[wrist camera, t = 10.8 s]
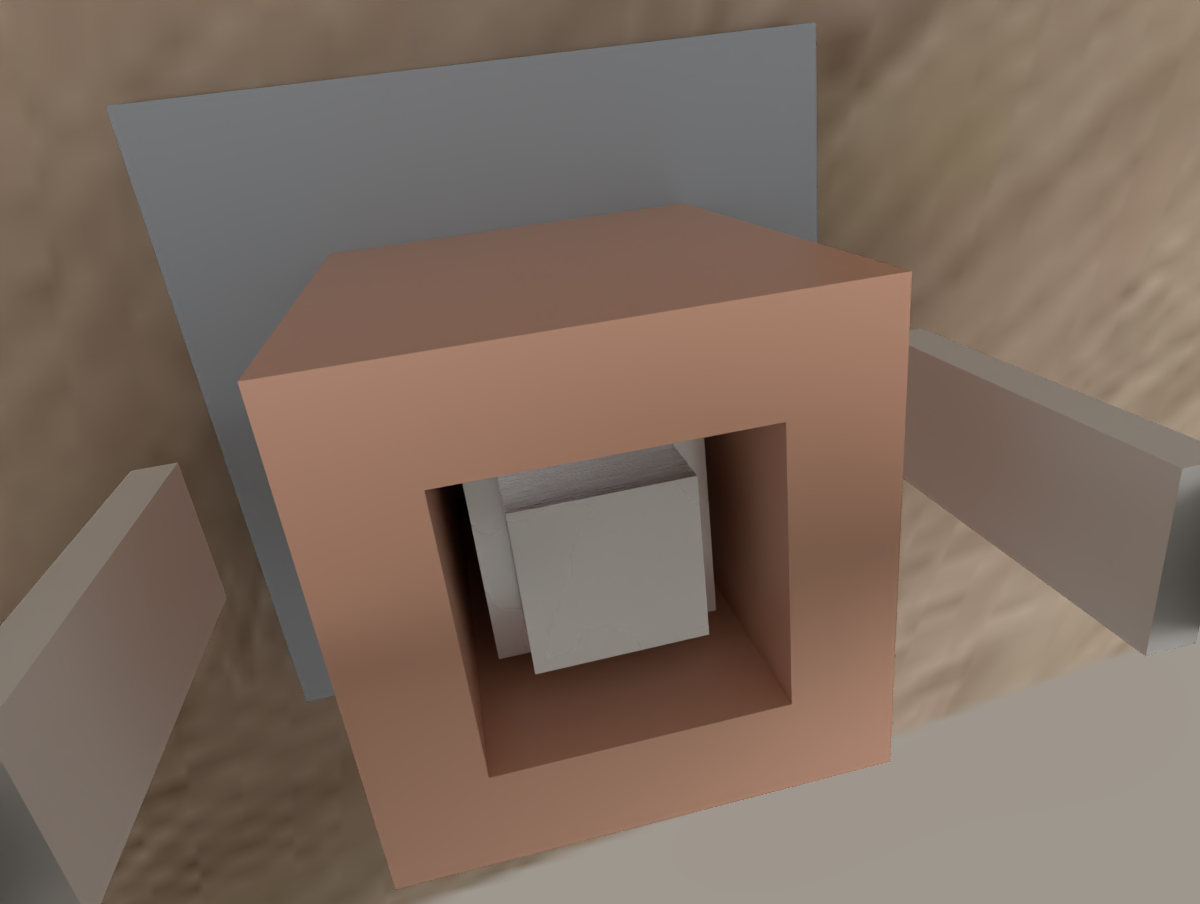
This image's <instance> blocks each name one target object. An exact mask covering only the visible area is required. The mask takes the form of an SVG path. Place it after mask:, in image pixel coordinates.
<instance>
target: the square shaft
mask: <svg viewBox="0 0 1200 904" xmlns="http://www.w3.org/2000/svg"><path fill="white" fill-rule="evenodd" d="M463 488H464V493H465V498H466V503H467V508H468V512H469V517H470V522H471V527H472V532H473V536H474V541H475V546H476V551H477V556H478V561H479V565H480V570H481V575H482V580H483V585H484V589H485V594H486V599H487V604H488V609H489V614H490V618H491V623H492V628H493V633H494V638H495V642H496V647H497V652H498V657H499V659H503V658H507V657H511V656H516V655H520V654H525V653H529V652H531V656H532V661H533V666H534V670H535V674H539V673H544V672H548V671H553V670H557V669H561V668H566V667H570V666H574V665H579V664H583V663H587V662H592V661H596V660H600V659H605V658H609V657H613V656H618V655H622V654H626V653H631V652H635V651H639V650H644V649H648V648H652V647H657V646H661V645H665V644H670V643H674V642H678V641H683V640H687V639H691V638H696V637H700V636H705V635H709V625H708V612H711V611H715V610H716V601H715V587H714V573H713V558H712V544H711V530H710V515H709V501H708V487H707V472H706V458H705V444H704V438H699V439H694V440H688V441H683V442H678V443H672V444H667V445H662V446H657V447H651V448H646V449H641V450H635V451H630V452H625V453H619V454H614V455H609V456H604V457H598V458H593V459H588V460H582V461H577V462H572V463H567V464H561V465H556V466H551V467H545V468H540V469H535V470H530V471H524V472H519V473H514V474H508V475H503V476H498V477H492V478H487V479H482V480H477V481H471V482H466V483H463Z"/></svg>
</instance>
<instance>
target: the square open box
mask: <svg viewBox="0 0 1200 904" xmlns="http://www.w3.org/2000/svg"><path fill="white" fill-rule="evenodd" d="M911 284H912V271H910V270H907V269H903V268H900V267H896V266H893V265H890V264H886V263H883V262H880V261H876V260H873V259H869V258H866V257H863V256H859V255H856V254H853V253H849V252H846V251H843V250H839V249H836V248H832V247H829V246H826V245H822V244H819V243H816V242H812V241H809V240H805V239H802V238H799V237H795V236H792V235H789V234H785V233H782V232H779V231H775V230H772V229H768V228H765V227H762V226H758V225H755V224H752V223H748V222H745V221H742V220H738V219H735V218H731V217H728V216H725V215H721V214H718V213H715V212H711V211H708V210H704V209H701V208H698V207H694V206H691V205H688V204H684V203H680V204H673V205H666V206H659V207H652V208H645V209H638V210H631V211H624V212H617V213H610V214H603V215H596V216H589V217H582V218H575V219H569V220H562V221H555V222H548V223H541V224H534V225H527V226H520V227H513V228H506V229H499V230H492V231H485V232H478V233H471V234H464V235H457V236H450V237H443V238H437V239H430V240H423V241H416V242H409V243H402V244H395V245H388V246H381V247H374V248H367V249H360V250H353V251H346V252H339V253H332V254H329V255H328V256H327V258H326V259H325V260H324V262H323V263H322V264H321V266H320V267H319V269H318V270H317V271H316V273H315V274H314V276H313V277H312V278H311V280H310V281H309V283H308V284H307V285H306V287H305V288H304V290H303V291H302V292H301V294H300V295H299V297H298V298H297V299H296V301H295V302H294V304H293V305H292V306H291V308H290V309H289V311H288V312H287V313H286V315H285V316H284V317H283V319H282V320H281V322H280V323H279V324H278V326H277V327H276V329H275V330H274V331H273V333H272V334H271V336H270V337H269V338H268V340H267V341H266V343H265V344H264V345H263V347H262V348H261V350H260V351H259V352H258V354H257V355H256V357H255V358H254V359H253V361H252V362H251V364H250V365H249V366H248V368H247V369H246V371H245V372H244V373H243V375H242V376H241V377H240V379H239V380H238V385H239V388H240V392H241V395H242V398H243V401H244V404H245V408H246V411H247V414H248V417H249V420H250V424H251V427H252V430H253V433H254V437H255V440H256V443H257V446H258V449H259V453H260V456H261V459H262V462H263V465H264V469H265V472H266V475H267V478H268V482H269V485H270V488H271V491H272V494H273V498H274V501H275V504H276V507H277V510H278V514H279V517H280V520H281V523H282V526H283V530H284V533H285V536H286V539H287V543H288V546H289V549H290V552H291V555H292V559H293V562H294V565H295V568H296V571H297V575H298V578H299V581H300V584H301V588H302V591H303V594H304V597H305V600H306V604H307V607H308V610H309V613H310V616H311V620H312V623H313V626H314V629H315V633H316V636H317V639H318V642H319V645H320V649H321V652H322V655H323V658H324V661H325V665H326V668H327V671H328V674H329V677H330V681H331V684H332V687H333V690H334V694H335V697H336V700H337V703H338V706H339V710H340V713H341V716H342V719H343V722H344V726H345V729H346V732H347V735H348V739H349V742H350V745H351V748H352V751H353V755H354V758H355V761H356V764H357V767H358V771H359V774H360V777H361V780H362V783H363V787H364V790H365V793H366V796H367V800H368V803H369V806H370V809H371V812H372V816H373V819H374V822H375V825H376V828H377V832H378V835H379V838H380V841H381V845H382V848H383V851H384V854H385V857H386V861H387V864H388V867H389V870H390V873H391V877H392V880H393V883H394V886H395V890H397V889H401V888H405V887H409V886H412V885H416V884H420V883H424V882H428V881H432V880H436V879H439V878H443V877H447V876H451V875H455V874H459V873H463V872H466V871H470V870H474V869H478V868H482V867H486V866H490V865H493V864H497V863H501V862H505V861H509V860H513V859H517V858H520V857H524V856H528V855H532V854H536V853H540V852H543V851H547V850H551V849H555V848H559V847H563V846H567V845H570V844H574V843H578V842H582V841H586V840H590V839H594V838H597V837H601V836H605V835H609V834H613V833H617V832H621V831H624V830H628V829H632V828H636V827H640V826H644V825H648V824H651V823H655V822H659V821H663V820H667V819H671V818H674V817H678V816H682V815H686V814H690V813H694V812H698V811H701V810H705V809H709V808H713V807H717V806H721V805H724V804H728V803H732V802H736V801H740V800H744V799H747V798H752V797H755V796H759V795H763V794H767V793H771V792H774V791H778V790H782V789H786V788H790V787H794V786H798V785H802V784H805V783H809V782H813V781H817V780H821V779H824V778H829V777H832V776H836V775H840V774H844V773H848V772H852V771H856V770H859V769H863V768H867V767H871V766H875V765H879V764H883V763H886V762H890V755H891V733H892V711H893V688H894V666H895V643H896V621H897V598H898V576H899V554H900V531H901V509H902V486H903V464H904V441H905V419H906V396H907V374H908V352H909V329H910V307H911ZM699 438H704V444H705V458H706V472H707V487H708V501H709V515H710V530H711V544H712V558H713V573H714V587H715V601H716V610H715V611H711V612H708V625H709V635H705V636H700V637H696V638H691V639H687V640H683V641H678V642H674V643H670V644H665V645H661V646H657V647H652V648H648V649H644V650H639V651H635V652H631V653H626V654H622V655H618V656H613V657H609V658H605V659H600V660H596V661H592V662H587V663H583V664H579V665H574V666H570V667H566V668H561V669H557V670H553V671H548V672H544V673H539V674H535V670H534V666H533V661H532V656H531V652H529V653H525V654H520V655H516V656H511V657H507V658H503V659H499V657H498V652H497V647H496V642H495V638H494V633H493V628H492V623H491V618H490V614H489V609H488V604H487V599H486V594H485V589H484V585H483V580H482V575H481V570H480V565H479V561H478V556H477V551H476V546H475V541H474V536H473V532H472V527H471V522H470V517H469V512H468V508H467V503H466V498H465V497H461V498H460V496H459V491H458V486H457V484H461V483H466V482H471V481H477V480H482V479H487V478H492V477H498V476H503V475H508V474H514V473H519V472H524V471H530V470H535V469H540V468H545V467H551V466H556V465H561V464H567V463H572V462H577V461H582V460H588V459H593V458H598V457H604V456H609V455H614V454H619V453H625V452H630V451H635V450H641V449H646V448H651V447H657V446H662V445H667V444H672V443H678V442H683V441H688V440H694V439H699Z"/></svg>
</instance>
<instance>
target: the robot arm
mask: <svg viewBox="0 0 1200 904" xmlns="http://www.w3.org/2000/svg"><path fill="white" fill-rule="evenodd" d="M903 479H905V480H906V481H907V482H909V483H910V484H911V485H913V486H914V487H915V488H917V489H918V490H920V491H921V492H922V493H924V494H925V495H926V496H928V497H929V498H931V499H932V500H933V501H935V502H936V503H937V504H939V505H940V506H941V507H943V508H944V509H946V510H947V511H948V512H950V513H951V514H952V515H954V516H955V517H956V518H958V519H959V520H961V521H962V522H963V523H965V524H966V525H967V526H969V527H970V528H971V529H973V530H974V531H976V532H977V533H978V534H980V535H981V536H982V537H984V538H985V539H986V540H988V541H989V542H991V543H992V544H993V545H995V546H996V547H997V548H999V549H1000V550H1001V551H1003V552H1004V553H1006V554H1007V555H1008V556H1010V557H1011V558H1012V559H1014V560H1015V561H1016V562H1018V563H1019V564H1021V565H1022V566H1023V567H1025V568H1026V569H1027V570H1029V571H1030V572H1032V573H1033V574H1034V575H1036V576H1037V577H1038V578H1040V579H1041V580H1042V581H1044V582H1045V583H1047V584H1048V585H1049V586H1051V587H1052V588H1053V589H1055V590H1056V591H1057V592H1059V593H1060V594H1062V595H1063V596H1064V597H1066V598H1067V599H1068V600H1070V601H1071V602H1072V603H1074V604H1075V605H1077V606H1078V607H1079V608H1081V609H1082V610H1083V611H1085V612H1086V613H1087V614H1089V615H1090V616H1092V617H1093V618H1094V619H1096V620H1097V621H1098V622H1100V623H1101V624H1102V625H1104V626H1105V627H1107V628H1108V629H1109V630H1111V631H1112V632H1113V633H1115V634H1116V635H1118V636H1119V637H1120V638H1122V639H1123V640H1124V641H1126V642H1127V643H1128V644H1130V645H1131V646H1133V647H1134V648H1135V649H1137V650H1138V651H1139V652H1141V653H1142V654H1143V655H1145V656H1148V655H1152V654H1156V653H1160V652H1163V651H1168V650H1171V649H1176V648H1179V647H1183V646H1187V645H1191V644H1195V643H1196V640H1197V636H1198V631H1199V627H1200V441H1199V440H1196V439H1194V438H1191V437H1189V436H1186V435H1184V434H1181V433H1179V432H1176V431H1174V430H1171V429H1169V428H1167V427H1164V426H1162V425H1159V424H1157V423H1154V422H1152V421H1149V420H1147V419H1144V418H1142V417H1139V416H1137V415H1134V414H1132V413H1130V412H1127V411H1125V410H1122V409H1120V408H1117V407H1115V406H1112V405H1110V404H1107V403H1105V402H1102V401H1100V400H1097V399H1095V398H1093V397H1090V396H1088V395H1085V394H1083V393H1080V392H1078V391H1075V390H1073V389H1070V388H1068V387H1065V386H1063V385H1060V384H1058V383H1056V382H1053V381H1051V380H1048V379H1046V378H1043V377H1041V376H1038V375H1036V374H1033V373H1031V372H1028V371H1026V370H1023V369H1021V368H1018V367H1016V366H1014V365H1011V364H1009V363H1006V362H1004V361H1001V360H999V359H996V358H994V357H991V356H989V355H986V354H984V353H981V352H979V351H977V350H974V349H972V348H969V347H967V346H964V345H962V344H959V343H957V342H954V341H952V340H949V339H947V338H944V337H942V336H940V335H937V334H935V333H932V332H930V331H927V330H925V329H922V328H921V329H916V330H910V331H909V352H908V374H907V396H906V419H905V441H904V464H903ZM226 599H227V596H226V593H225V591H224V588H223V585H222V582H221V580H220V577H219V574H218V571H217V569H216V566H215V563H214V560H213V558H212V555H211V552H210V549H209V547H208V544H207V541H206V538H205V536H204V533H203V530H202V527H201V525H200V522H199V519H198V516H197V514H196V511H195V508H194V505H193V503H192V500H191V497H190V494H189V492H188V489H187V486H186V483H185V481H184V478H183V475H182V472H181V470H180V467H179V464H178V462H177V463H172V464H166V465H161V466H155V467H150V468H144V469H138V470H133V471H130V472H129V473H128V475H127V476H126V477H125V478H124V479H123V480H122V482H121V483H120V484H119V485H118V486H117V488H116V489H115V490H114V491H113V492H112V494H111V495H110V496H109V497H108V498H107V500H106V501H105V502H104V503H103V504H102V505H101V507H100V508H99V509H98V510H97V511H96V513H95V514H94V515H93V516H92V517H91V519H90V520H89V521H88V522H87V523H86V524H85V526H84V527H83V528H82V529H81V530H80V532H79V533H78V534H77V535H76V536H75V538H74V539H73V540H72V541H71V542H70V543H69V545H68V546H67V547H66V548H65V549H64V551H63V552H62V553H61V554H60V555H59V557H58V558H57V559H56V560H55V561H54V563H53V564H52V565H51V566H50V567H49V568H48V570H47V571H46V572H45V573H44V574H43V576H42V577H41V578H40V579H39V580H38V582H37V583H36V584H35V585H34V586H33V587H32V589H31V590H30V591H29V592H28V593H27V595H26V596H25V597H24V598H23V599H22V601H21V602H20V603H19V604H18V605H17V607H16V608H15V609H14V610H13V611H12V612H11V614H10V615H9V616H8V617H7V618H6V620H5V621H4V622H3V623H2V624H1V626H0V904H101V902H102V900H103V898H104V895H105V893H106V890H107V888H108V885H109V883H110V881H111V878H112V876H113V873H114V871H115V868H116V866H117V864H118V861H119V859H120V856H121V854H122V851H123V849H124V847H125V844H126V842H127V839H128V837H129V834H130V832H131V830H132V827H133V825H134V822H135V820H136V817H137V815H138V812H139V810H140V808H141V805H142V803H143V800H144V798H145V795H146V793H147V791H148V788H149V786H150V783H151V781H152V778H153V776H154V774H155V771H156V769H157V766H158V764H159V761H160V759H161V757H162V754H163V752H164V749H165V747H166V744H167V742H168V740H169V737H170V735H171V732H172V730H173V727H174V725H175V723H176V720H177V718H178V715H179V713H180V710H181V708H182V706H183V703H184V701H185V698H186V696H187V693H188V691H189V689H190V686H191V684H192V681H193V679H194V676H195V674H196V672H197V669H198V667H199V664H200V662H201V659H202V657H203V655H204V652H205V650H206V647H207V645H208V642H209V640H210V637H211V635H212V633H213V630H214V628H215V625H216V623H217V620H218V618H219V616H220V613H221V611H222V608H223V606H224V603H225V601H226Z"/></svg>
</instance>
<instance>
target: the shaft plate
mask: <svg viewBox="0 0 1200 904" xmlns="http://www.w3.org/2000/svg"><path fill="white" fill-rule="evenodd" d="M106 109H107V112H108V115H109V118H110V121H111V124H112V127H113V130H114V133H115V136H116V139H117V142H118V145H119V148H120V151H121V154H122V157H123V160H124V163H125V166H126V169H127V172H128V174H129V177H130V180H131V183H132V186H133V189H134V192H135V195H136V198H137V201H138V204H139V207H140V210H141V213H142V216H143V219H144V222H145V225H146V228H147V231H148V234H149V237H150V240H151V243H152V246H153V249H154V252H155V255H156V258H157V261H158V263H159V266H160V269H161V272H162V275H163V278H164V281H165V284H166V287H167V290H168V293H169V296H170V299H171V302H172V305H173V308H174V311H175V314H176V317H177V320H178V323H179V326H180V329H181V332H182V335H183V338H184V341H185V344H186V347H187V350H188V352H189V355H190V358H191V361H192V364H193V367H194V370H195V373H196V376H197V379H198V382H199V385H200V388H201V391H202V394H203V397H204V400H205V403H206V406H207V409H208V412H209V415H210V418H211V421H212V424H213V427H214V430H215V433H216V436H217V439H218V442H219V444H220V447H221V450H222V453H223V456H224V459H225V462H226V465H227V468H228V471H229V474H230V477H231V480H232V483H233V486H234V489H235V492H236V495H237V498H238V501H239V504H240V507H241V510H242V513H243V516H244V519H245V522H246V525H247V528H248V531H249V533H250V536H251V539H252V542H253V545H254V548H255V551H256V554H257V557H258V560H259V563H260V566H261V569H262V572H263V575H264V578H265V581H266V584H267V587H268V590H269V593H270V596H271V599H272V602H273V605H274V608H275V611H276V614H277V617H278V620H279V622H280V625H281V628H282V631H283V634H284V637H285V640H286V643H287V646H288V649H289V652H290V655H291V658H292V661H293V664H294V667H295V670H296V673H297V676H298V679H299V682H300V685H301V688H302V691H303V694H304V697H305V700H306V702H309V701H314V700H318V699H323V698H327V697H332V696H335V694H334V690H333V687H332V684H331V681H330V677H329V674H328V671H327V668H326V665H325V661H324V658H323V655H322V652H321V649H320V645H319V642H318V639H317V636H316V633H315V629H314V626H313V623H312V620H311V616H310V613H309V610H308V607H307V604H306V600H305V597H304V594H303V591H302V588H301V584H300V581H299V578H298V575H297V571H296V568H295V565H294V562H293V559H292V555H291V552H290V549H289V546H288V543H287V539H286V536H285V533H284V530H283V526H282V523H281V520H280V517H279V514H278V510H277V507H276V504H275V501H274V498H273V494H272V491H271V488H270V485H269V482H268V478H267V475H266V472H265V469H264V465H263V462H262V459H261V456H260V453H259V449H258V446H257V443H256V440H255V437H254V433H253V430H252V427H251V424H250V420H249V417H248V414H247V411H246V408H245V404H244V401H243V398H242V395H241V392H240V388H239V385H238V380H239V379H240V377H241V376H242V375H243V373H244V372H245V371H246V369H247V368H248V366H249V365H250V364H251V362H252V361H253V359H254V358H255V357H256V355H257V354H258V352H259V351H260V350H261V348H262V347H263V345H264V344H265V343H266V341H267V340H268V338H269V337H270V336H271V334H272V333H273V331H274V330H275V329H276V327H277V326H278V324H279V323H280V322H281V320H282V319H283V317H284V316H285V315H286V313H287V312H288V311H289V309H290V308H291V306H292V305H293V304H294V302H295V301H296V299H297V298H298V297H299V295H300V294H301V292H302V291H303V290H304V288H305V287H306V285H307V284H308V283H309V281H310V280H311V278H312V277H313V276H314V274H315V273H316V271H317V270H318V269H319V267H320V266H321V264H322V263H323V262H324V260H325V259H326V258H327V256H328V255H329V254H332V253H339V252H346V251H353V250H360V249H367V248H374V247H381V246H388V245H395V244H402V243H409V242H416V241H423V240H430V239H437V238H443V237H450V236H457V235H464V234H471V233H478V232H485V231H492V230H499V229H506V228H513V227H520V226H527V225H534V224H541V223H548V222H555V221H562V220H569V219H575V218H582V217H589V216H596V215H603V214H610V213H617V212H624V211H631V210H638V209H645V208H652V207H659V206H666V205H673V204H680V203H684V204H688V205H691V206H694V207H698V208H701V209H704V210H708V211H711V212H715V213H718V214H721V215H725V216H728V217H731V218H735V219H738V220H742V221H745V222H748V223H752V224H755V225H758V226H762V227H765V228H768V229H772V230H775V231H779V232H782V233H785V234H789V235H792V236H795V237H799V238H802V239H805V240H809V241H812V242H816V243H817V104H816V22H814V23H805V24H797V25H788V26H780V27H771V28H763V29H754V30H746V31H737V32H729V33H720V34H712V35H703V36H695V37H687V38H678V39H670V40H661V41H653V42H644V43H636V44H627V45H619V46H610V47H602V48H593V49H585V50H576V51H568V52H559V53H551V54H542V55H534V56H525V57H517V58H508V59H500V60H491V61H483V62H474V63H466V64H457V65H449V66H440V67H432V68H423V69H415V70H407V71H398V72H390V73H381V74H373V75H364V76H356V77H347V78H339V79H330V80H322V81H313V82H305V83H296V84H288V85H279V86H271V87H262V88H254V89H245V90H237V91H228V92H220V93H211V94H203V95H194V96H186V97H177V98H169V99H160V100H152V101H143V102H135V103H127V104H118V105H110V106H106ZM457 486H458V491H459V496H460V498H461V497H465V493H464V488H463V483H461V484H457Z"/></svg>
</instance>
